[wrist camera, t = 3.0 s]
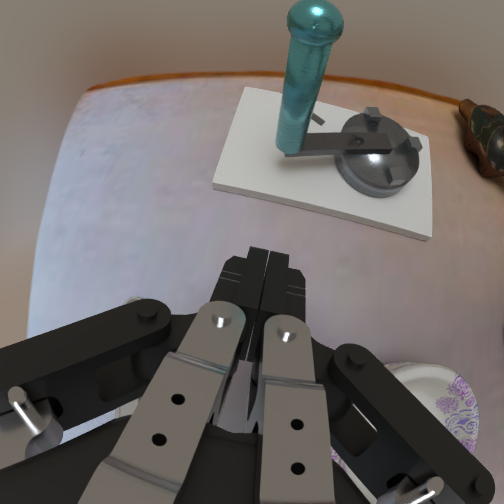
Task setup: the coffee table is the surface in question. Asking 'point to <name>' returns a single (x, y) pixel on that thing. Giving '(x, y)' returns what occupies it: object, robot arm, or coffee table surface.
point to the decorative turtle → (484, 136)
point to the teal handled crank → (355, 128)
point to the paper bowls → (433, 404)
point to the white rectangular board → (315, 171)
